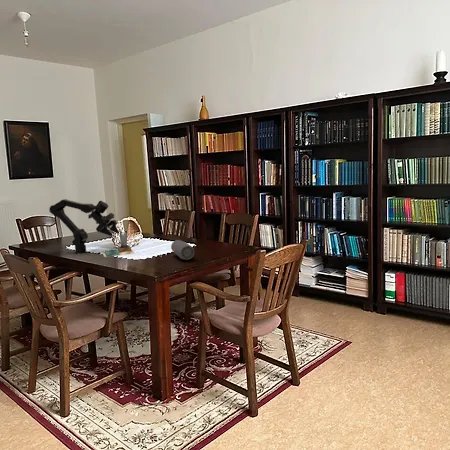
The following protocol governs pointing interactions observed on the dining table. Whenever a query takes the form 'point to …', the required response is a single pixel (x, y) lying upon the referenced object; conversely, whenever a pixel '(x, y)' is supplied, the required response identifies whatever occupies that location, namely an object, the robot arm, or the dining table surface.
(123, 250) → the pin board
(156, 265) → the dining table surface
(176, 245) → the bluetooth speaker
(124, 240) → the pin
